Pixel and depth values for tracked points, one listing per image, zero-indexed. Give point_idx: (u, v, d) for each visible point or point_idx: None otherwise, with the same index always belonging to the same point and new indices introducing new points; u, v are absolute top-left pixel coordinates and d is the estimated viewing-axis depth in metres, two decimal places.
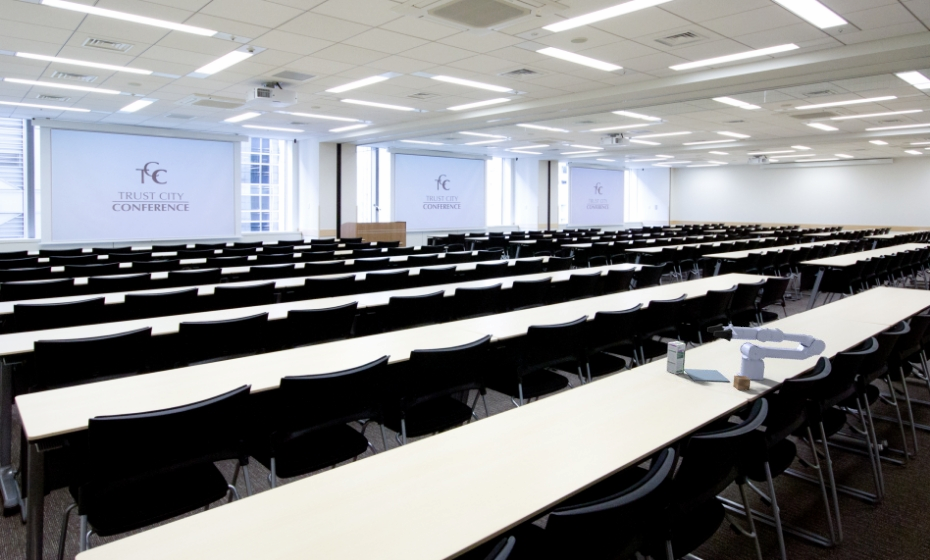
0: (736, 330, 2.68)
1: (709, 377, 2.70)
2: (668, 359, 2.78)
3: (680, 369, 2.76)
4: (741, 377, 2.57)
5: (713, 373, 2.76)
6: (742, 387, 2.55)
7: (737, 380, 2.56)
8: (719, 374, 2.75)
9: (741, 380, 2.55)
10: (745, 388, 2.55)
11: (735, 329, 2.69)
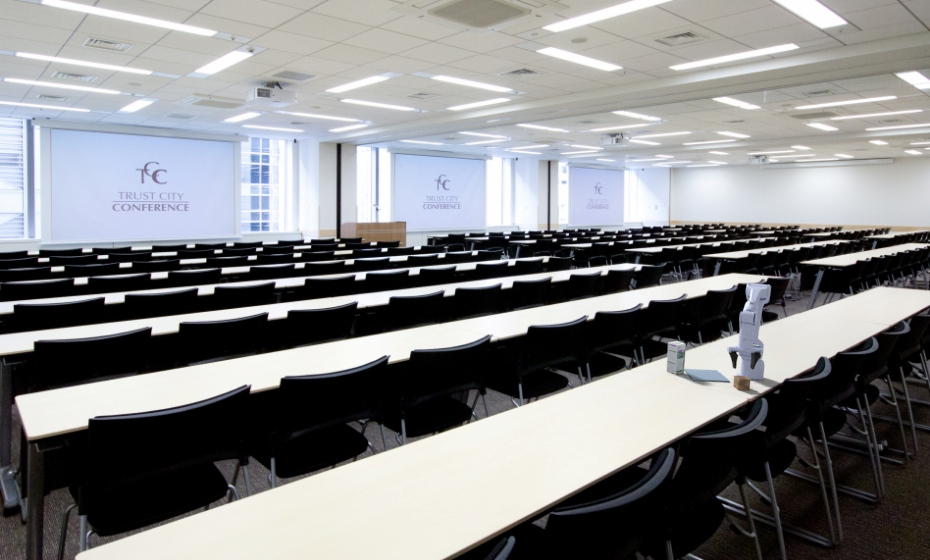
0: (752, 346, 2.53)
1: (709, 377, 2.70)
2: (668, 359, 2.78)
3: (680, 369, 2.76)
4: (741, 377, 2.57)
5: (713, 373, 2.76)
6: (742, 387, 2.55)
7: (737, 380, 2.56)
8: (719, 374, 2.75)
9: (741, 380, 2.55)
10: (745, 388, 2.55)
11: (751, 347, 2.52)
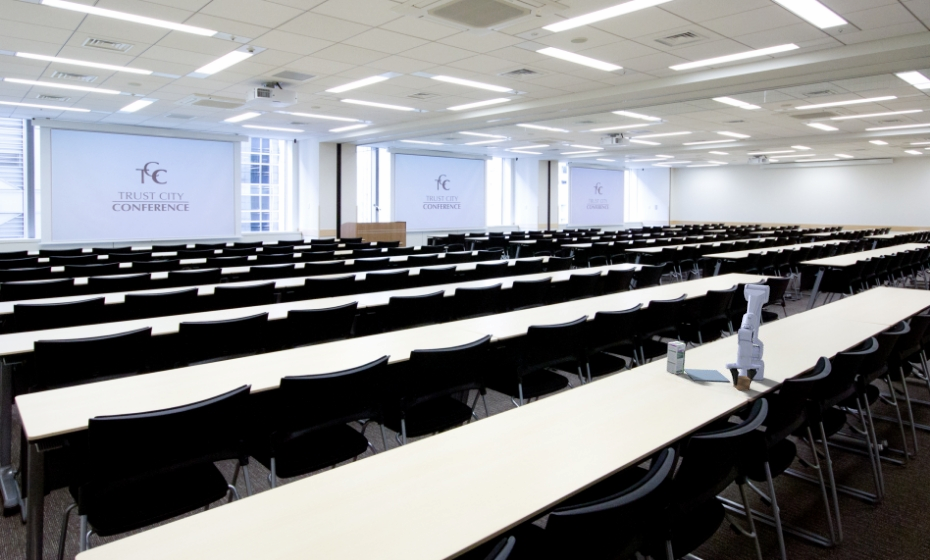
0: (750, 363, 2.54)
1: (709, 377, 2.70)
2: (668, 359, 2.78)
3: (680, 369, 2.76)
4: (741, 377, 2.57)
5: (713, 373, 2.76)
6: (742, 387, 2.55)
7: (737, 380, 2.56)
8: (719, 374, 2.75)
9: (741, 379, 2.55)
10: (745, 388, 2.55)
11: (750, 364, 2.54)
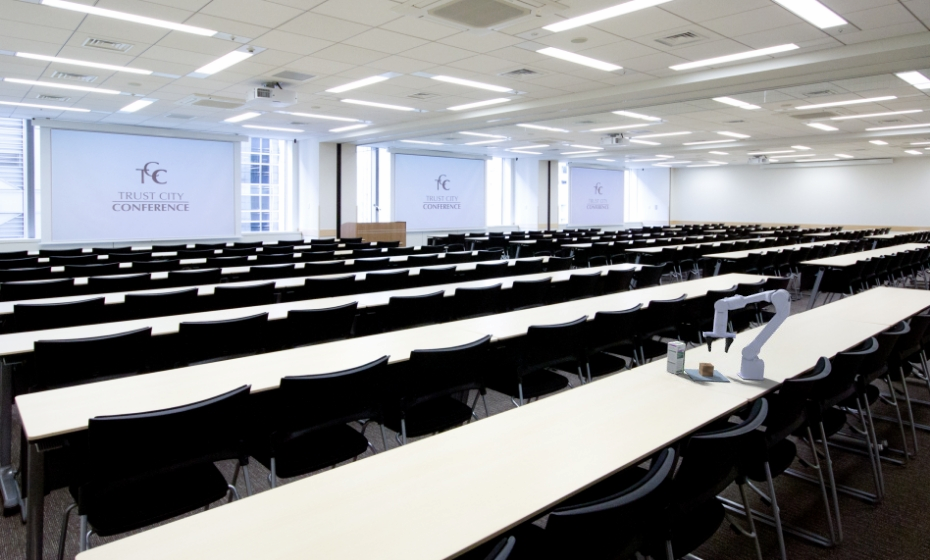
0: (725, 331, 2.77)
1: (709, 377, 2.70)
2: (668, 359, 2.78)
3: (680, 369, 2.76)
4: (705, 364, 2.73)
5: (713, 373, 2.76)
6: (706, 373, 2.71)
7: (701, 367, 2.72)
8: (719, 374, 2.75)
9: (705, 366, 2.71)
10: (709, 374, 2.71)
11: (725, 332, 2.77)
